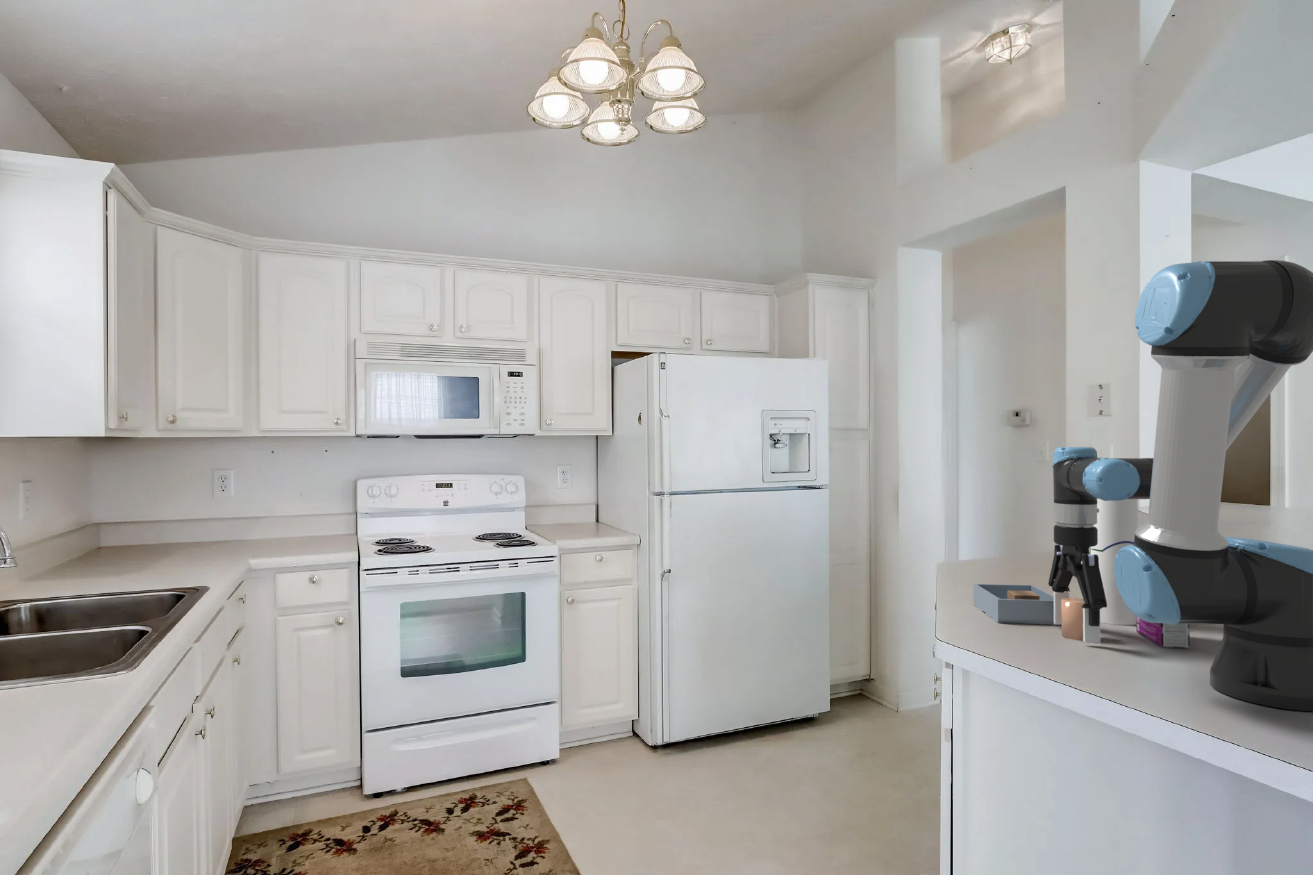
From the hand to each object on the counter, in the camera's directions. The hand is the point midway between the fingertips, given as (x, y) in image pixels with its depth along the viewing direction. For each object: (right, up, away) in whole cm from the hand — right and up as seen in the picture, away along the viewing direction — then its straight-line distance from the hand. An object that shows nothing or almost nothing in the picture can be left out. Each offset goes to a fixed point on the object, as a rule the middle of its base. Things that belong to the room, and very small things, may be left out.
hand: (1075, 633), depth 142 cm
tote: (-3, -1, +18) cm, 19 cm away
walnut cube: (-3, 0, +14) cm, 15 cm away
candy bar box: (+15, -1, -3) cm, 15 cm away
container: (+16, -1, +13) cm, 20 cm away
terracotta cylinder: (0, -1, 0) cm, 1 cm away
